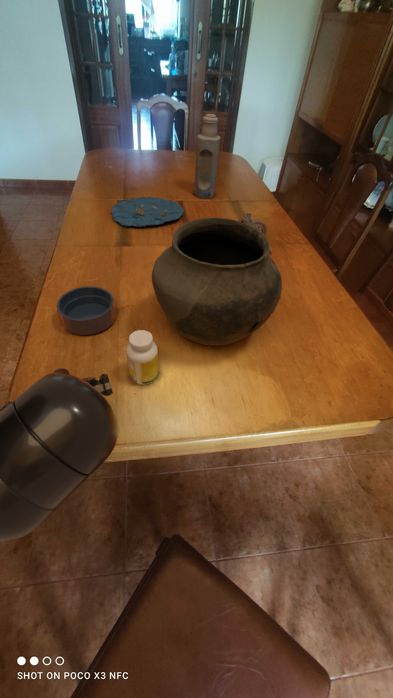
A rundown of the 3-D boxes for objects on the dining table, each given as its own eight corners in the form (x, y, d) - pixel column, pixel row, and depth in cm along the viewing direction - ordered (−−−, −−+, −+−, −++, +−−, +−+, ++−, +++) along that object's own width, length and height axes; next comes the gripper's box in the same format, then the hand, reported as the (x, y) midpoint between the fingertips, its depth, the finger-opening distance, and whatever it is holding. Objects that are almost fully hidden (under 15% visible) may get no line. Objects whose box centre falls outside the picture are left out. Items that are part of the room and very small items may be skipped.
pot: (250, 390, 70) (279, 301, 52) (132, 339, 79) (121, 247, 61) (286, 316, 89) (316, 232, 71) (187, 282, 97) (191, 198, 79)
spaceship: (257, 246, 99) (282, 236, 98) (232, 210, 125) (251, 202, 124) (262, 267, 104) (285, 258, 104) (237, 228, 131) (255, 221, 130)
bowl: (67, 343, 76) (61, 326, 72) (58, 309, 85) (52, 292, 81) (122, 329, 81) (120, 312, 77) (108, 298, 89) (105, 281, 85)
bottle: (191, 196, 143) (196, 115, 121) (196, 189, 150) (201, 111, 128) (212, 200, 142) (220, 118, 120) (216, 192, 149) (224, 113, 127)
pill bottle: (164, 371, 72) (164, 335, 64) (146, 390, 68) (143, 354, 60) (141, 359, 74) (138, 322, 66) (123, 377, 70) (117, 340, 62)
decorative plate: (93, 220, 124) (90, 206, 120) (139, 195, 142) (138, 183, 138) (156, 239, 114) (155, 225, 110) (197, 210, 132) (197, 197, 129)
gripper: (109, 359, 38) (100, 357, 53) (-26, 397, 33) (7, 383, 49) (126, 418, 39) (113, 399, 54) (-3, 463, 34) (22, 429, 49)
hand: (63, 391), depth 51 cm, fingers open, 8 cm apart
